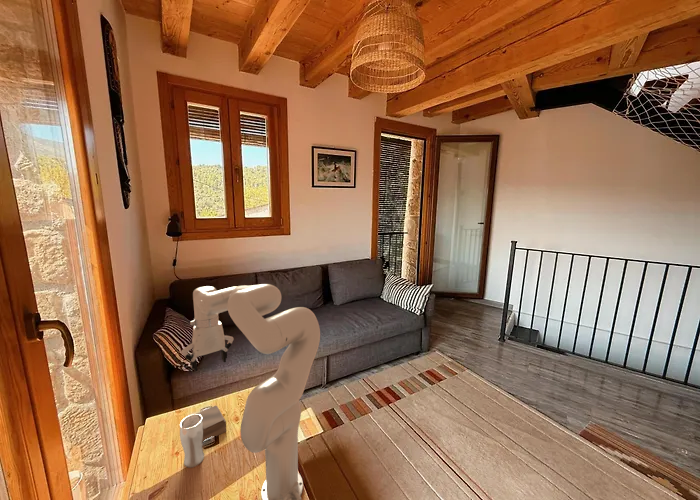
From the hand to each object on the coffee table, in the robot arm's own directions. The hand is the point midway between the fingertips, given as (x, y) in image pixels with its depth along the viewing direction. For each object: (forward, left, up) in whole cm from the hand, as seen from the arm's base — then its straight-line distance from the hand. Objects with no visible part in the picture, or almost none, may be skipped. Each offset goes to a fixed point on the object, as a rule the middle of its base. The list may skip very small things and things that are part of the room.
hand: (210, 365), depth 104 cm
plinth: (+3, +2, -28) cm, 28 cm away
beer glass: (-8, +9, -28) cm, 31 cm away
